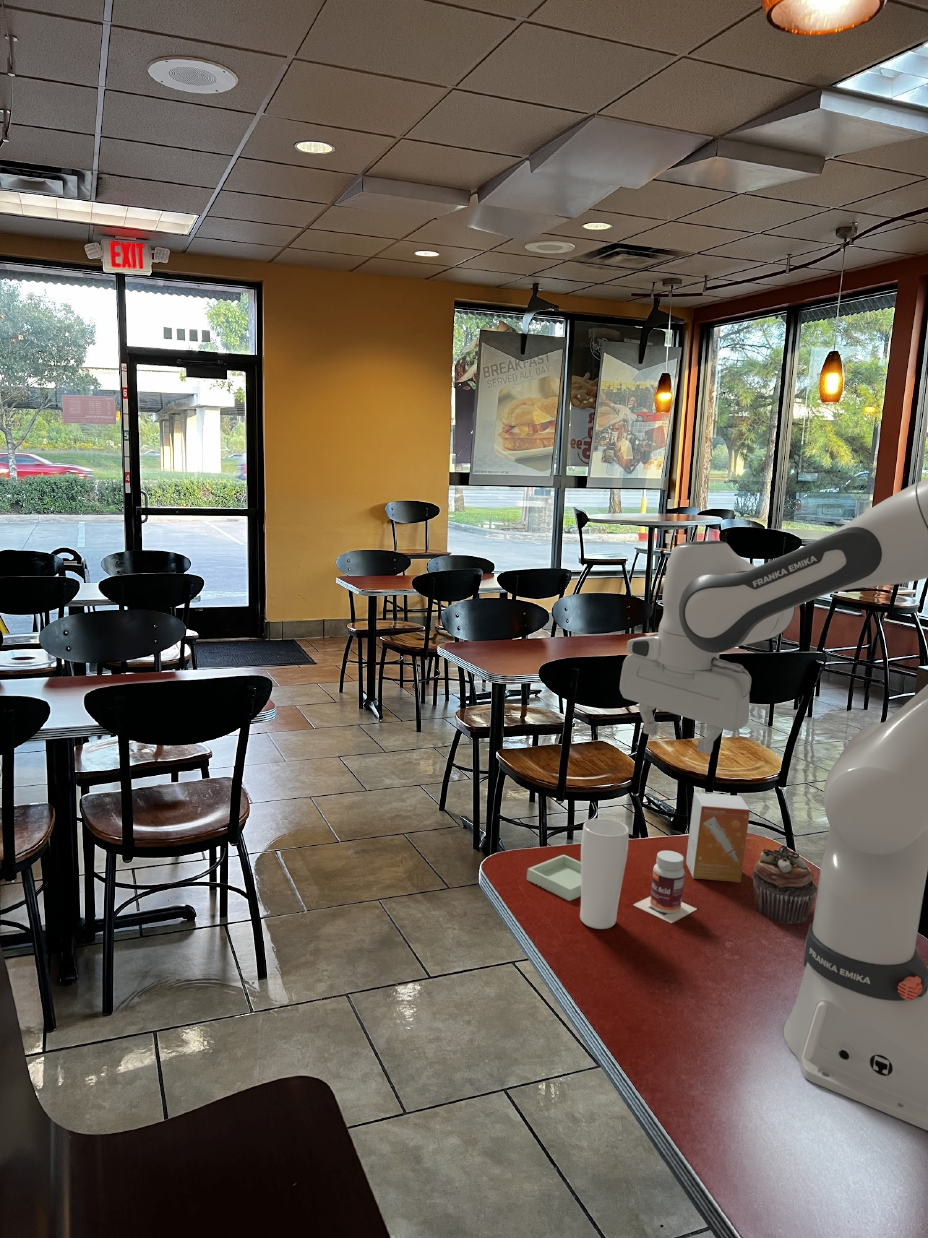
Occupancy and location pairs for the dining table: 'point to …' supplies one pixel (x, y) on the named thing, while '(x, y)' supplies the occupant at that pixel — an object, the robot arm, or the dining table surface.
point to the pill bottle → (667, 882)
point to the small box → (717, 837)
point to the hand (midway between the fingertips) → (676, 742)
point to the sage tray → (558, 876)
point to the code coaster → (667, 917)
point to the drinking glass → (602, 870)
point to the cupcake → (783, 886)
